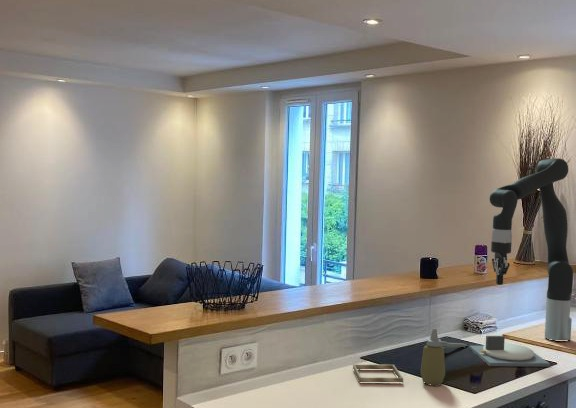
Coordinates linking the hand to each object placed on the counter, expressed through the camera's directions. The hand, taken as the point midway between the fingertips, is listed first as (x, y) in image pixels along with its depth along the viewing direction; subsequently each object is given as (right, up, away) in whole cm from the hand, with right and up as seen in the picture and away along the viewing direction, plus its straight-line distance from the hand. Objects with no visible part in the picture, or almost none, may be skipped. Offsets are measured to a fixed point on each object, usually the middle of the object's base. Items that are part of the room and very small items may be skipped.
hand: (499, 284), depth 259 cm
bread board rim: (-54, -26, -39) cm, 71 cm away
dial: (-2, -24, -13) cm, 27 cm away
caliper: (-20, -25, -5) cm, 33 cm away
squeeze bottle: (-36, -27, -44) cm, 63 cm away
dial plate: (-1, -26, -12) cm, 29 cm away
